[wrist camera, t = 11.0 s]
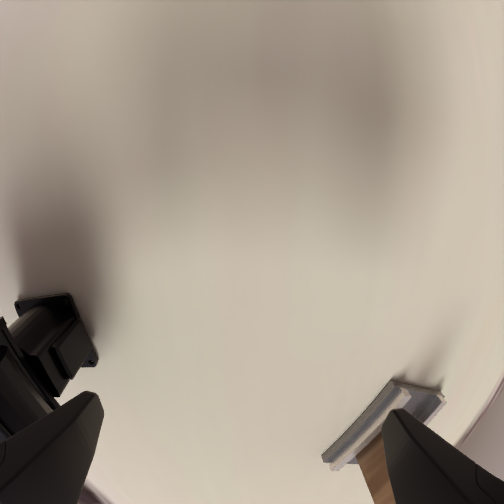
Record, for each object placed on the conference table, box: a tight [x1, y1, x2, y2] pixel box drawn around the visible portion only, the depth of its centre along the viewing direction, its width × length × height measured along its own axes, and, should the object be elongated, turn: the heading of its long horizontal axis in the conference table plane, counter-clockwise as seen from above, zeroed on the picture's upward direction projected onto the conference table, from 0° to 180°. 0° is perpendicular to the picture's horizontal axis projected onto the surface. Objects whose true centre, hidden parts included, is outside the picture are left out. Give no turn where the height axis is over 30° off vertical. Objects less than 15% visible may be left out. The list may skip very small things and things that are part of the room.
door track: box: [322, 380, 447, 471], centre depth 25 cm, size 12×9×2 cm
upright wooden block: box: [356, 431, 396, 504], centre depth 19 cm, size 4×6×12 cm, turn 154°
